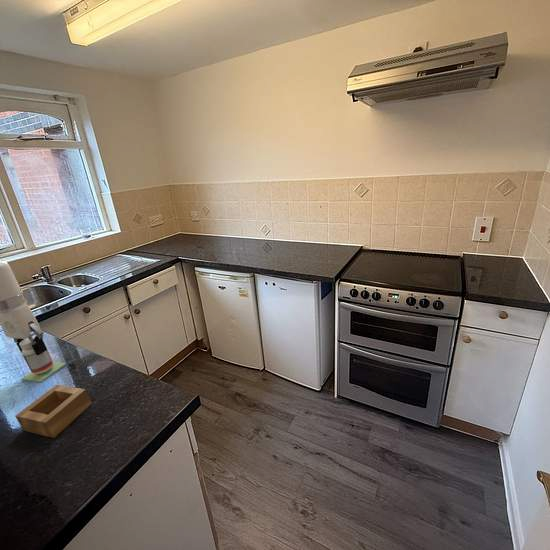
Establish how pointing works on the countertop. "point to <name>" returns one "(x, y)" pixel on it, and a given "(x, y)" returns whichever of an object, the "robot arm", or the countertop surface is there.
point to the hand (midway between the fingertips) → (34, 351)
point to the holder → (54, 410)
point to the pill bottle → (35, 358)
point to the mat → (44, 375)
